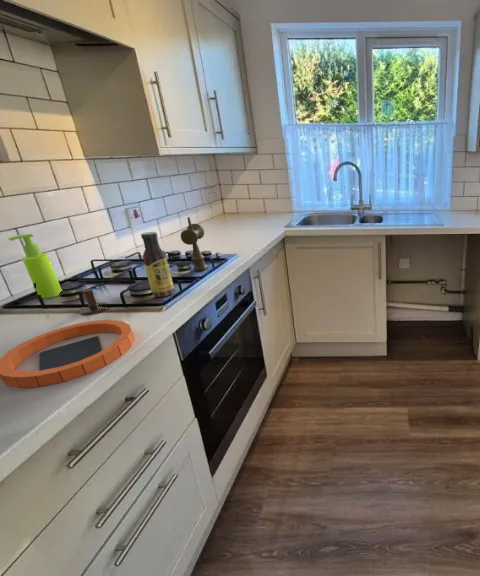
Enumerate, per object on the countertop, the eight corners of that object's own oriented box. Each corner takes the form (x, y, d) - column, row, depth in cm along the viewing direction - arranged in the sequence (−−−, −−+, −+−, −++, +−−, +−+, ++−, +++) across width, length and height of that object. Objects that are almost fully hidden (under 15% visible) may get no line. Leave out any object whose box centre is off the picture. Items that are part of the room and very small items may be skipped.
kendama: (212, 264, 141) (200, 213, 133) (206, 273, 132) (193, 219, 125) (195, 266, 140) (183, 214, 132) (188, 274, 131) (174, 220, 123)
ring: (-6, 404, 68) (-12, 393, 67) (7, 352, 85) (2, 342, 84) (141, 356, 82) (137, 346, 81) (127, 319, 99) (124, 311, 98)
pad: (39, 374, 77) (39, 373, 76) (40, 353, 84) (39, 352, 84) (102, 354, 83) (102, 353, 83) (97, 337, 91) (97, 335, 91)
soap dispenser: (32, 297, 116) (5, 236, 108) (59, 289, 121) (35, 231, 113) (38, 301, 112) (10, 239, 105) (65, 293, 118) (41, 233, 110)
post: (80, 317, 101) (72, 297, 99) (78, 309, 106) (71, 290, 104) (110, 309, 105) (103, 290, 103) (107, 302, 110) (100, 283, 108)
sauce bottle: (163, 299, 111) (145, 236, 104) (148, 297, 113) (129, 235, 106) (180, 291, 117) (164, 231, 109) (165, 289, 119) (149, 230, 111)
